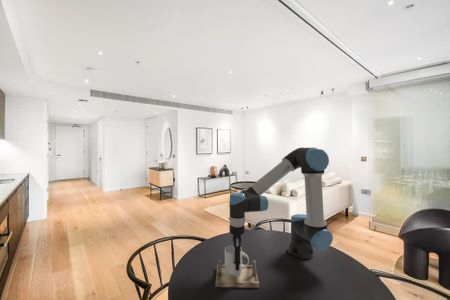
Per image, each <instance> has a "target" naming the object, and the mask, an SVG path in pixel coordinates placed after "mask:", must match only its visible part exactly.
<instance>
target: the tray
mask: <svg viewBox="0 0 450 300" xmlns="http://www.w3.org/2000/svg"><path fill="white" fill-rule="evenodd" d="M222 263H223V261H222V259H218V260H217V264H216V275H215V288H216V287H217V288H250V289H251V288H254V289H255V288H260V281H259V277H258V271H257V261H256V260H252V261H251V265H250V264H248V266H247V267H246V268H244V269H242V271H241V273H240V276H234V275H229V274H227V273H226V271H225V264H222Z"/></svg>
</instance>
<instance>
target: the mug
mask: <svg viewBox="0 0 450 300" xmlns="http://www.w3.org/2000/svg"><path fill="white" fill-rule="evenodd" d="M243 257H244V258H246V259H247V263H246V264H243ZM234 261H235V248H234V244H230V245H227V246H225V248H224V265H225V271H226V273H227V274H229V275H234V263H233V262H234ZM249 263H250V258H249V256H248V254H247V253H246V252H244V251H243V248H242V246H241V247H240V273H241V271H242V269H244V268H246V267H247V266H248V265H250V264H249Z"/></svg>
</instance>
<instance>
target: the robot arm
mask: <svg viewBox="0 0 450 300" xmlns="http://www.w3.org/2000/svg"><path fill="white" fill-rule="evenodd" d="M329 163H330V159H329V155H328V153H327V152H326V151H325V150H324V149H323V148H319V147H297V148H295V149H294V150H292V151H291V152H289V153H288V154H287V155H285V156H283V158H281V161H280V162H279V163H278V164H276V166H275V167H273V168H272V169H270V170H269V171H268V172H266V174H264V175H263V176H262V177H260V178H259V179H258V180H257V181H256V182H254V183H253V184H252V185H251V186H249V187H248V188H247V189H245V188H244V189H241V190H240V191H239V192H233V193H232V192H231V193H230V195H229V202H228V203H229V204H228V205H229V217H228V218H227V220H228V221H229V230H228V231H229V234H231V235H232V241H233V242H232V243H233V245H234V248H235V261H234V262H233V263H234V276H240V247H241V248H242V246H241V244H242V243H241V242H242V235H245V231H246V229H245V226H246V218H245V217H246V215H245V214H246V213H254V212H255V213H256V212H264V211H267V210H268V209H269V200H268V197H267V196H265V195H263V194H264V193H266V192H267V191H268V190H269V189H271V188H272V187H273V186H274V185H275V184H277V183H278V182H280V180H282V179H283V178H284V177H285V176H286V175H288V174H289V173H290V172H294V171H296V170H297V169H299V168H300V171H301V172H300V173H301V174H302V175H303V176H304V193H305V194H304V195H305V209H306V210H305V213H306V214H304V213H303V214H302V213H299V214H293V215H292V216H290V240H289V242H288V245H287V253H288V254H289V255H290V256H292V257H294V258H296V259H299V260H311V259H313V257H314V256H315V251H314V250H315V249H316V250H318V251H324V250H327V249H328V248H329V247H330V246H331V245H332V243H333V239H334V235H333V233H332V232H331V231H330V230H329V229H328V221H326V220H325V217H324V213H325V212H324V199H323V198H324V197H323V196H324V194H323V181H322V180H323V179H322V178H323V175H324V174H325V170H326V169H327V168H328V166H329Z"/></svg>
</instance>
